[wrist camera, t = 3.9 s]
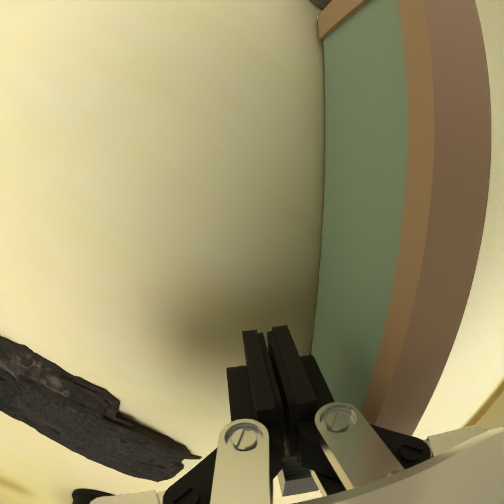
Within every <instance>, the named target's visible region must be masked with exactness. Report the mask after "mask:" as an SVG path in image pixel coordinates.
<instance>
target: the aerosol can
mask: <svg viewBox="0 0 504 504" xmlns="http://www.w3.org/2000/svg"><path fill="white" fill-rule="evenodd" d="M104 496H114V495H111V494H107V493H104V492H100V491H95V490H87V489H79V490H75V491H74V492H73V493H72V497H73V503H72V504H90V502H91V501H93V500H94V499H96V498H99V497H104Z"/></svg>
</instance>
